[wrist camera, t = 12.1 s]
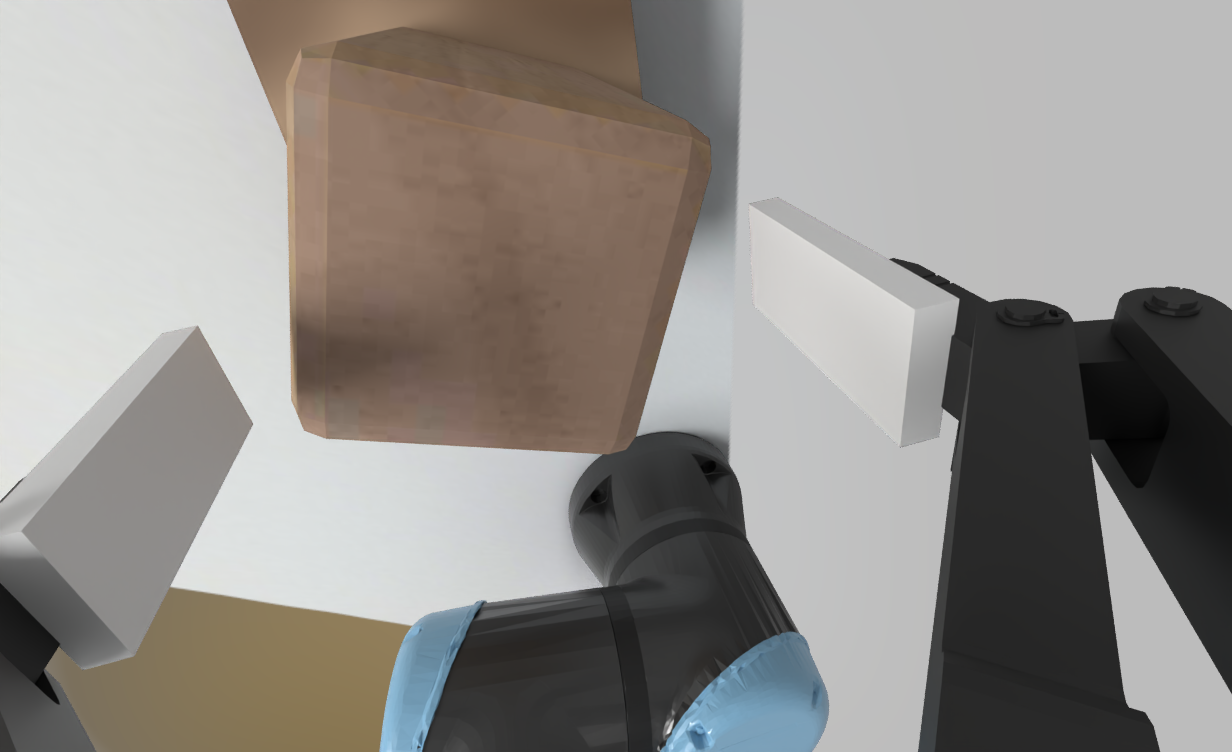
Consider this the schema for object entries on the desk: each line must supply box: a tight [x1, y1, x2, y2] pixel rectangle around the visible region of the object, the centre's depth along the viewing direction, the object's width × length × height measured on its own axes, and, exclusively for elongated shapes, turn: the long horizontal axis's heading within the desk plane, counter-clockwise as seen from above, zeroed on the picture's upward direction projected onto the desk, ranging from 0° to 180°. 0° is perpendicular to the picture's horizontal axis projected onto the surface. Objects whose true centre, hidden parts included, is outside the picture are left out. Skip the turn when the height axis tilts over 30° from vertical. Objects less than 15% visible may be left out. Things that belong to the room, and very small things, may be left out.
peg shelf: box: [227, 0, 642, 145], centre depth 35 cm, size 18×18×6 cm
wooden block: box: [286, 27, 711, 454], centre depth 24 cm, size 10×10×20 cm
